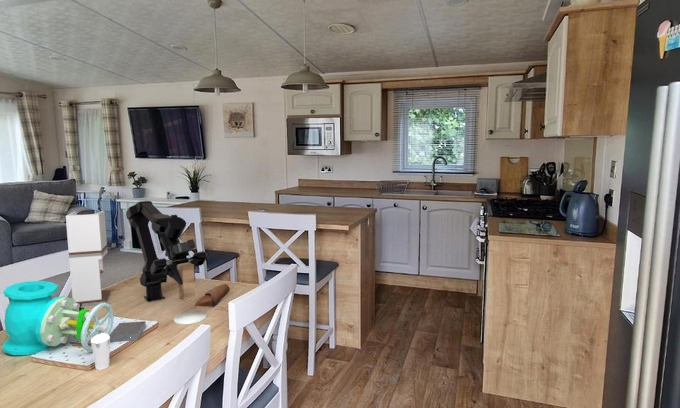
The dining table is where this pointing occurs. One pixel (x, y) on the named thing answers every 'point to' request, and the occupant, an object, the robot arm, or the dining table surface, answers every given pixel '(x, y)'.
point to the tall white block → (87, 257)
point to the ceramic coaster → (190, 317)
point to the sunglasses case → (213, 296)
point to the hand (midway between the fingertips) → (188, 282)
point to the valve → (47, 319)
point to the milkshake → (101, 350)
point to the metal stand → (127, 331)
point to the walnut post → (186, 281)
